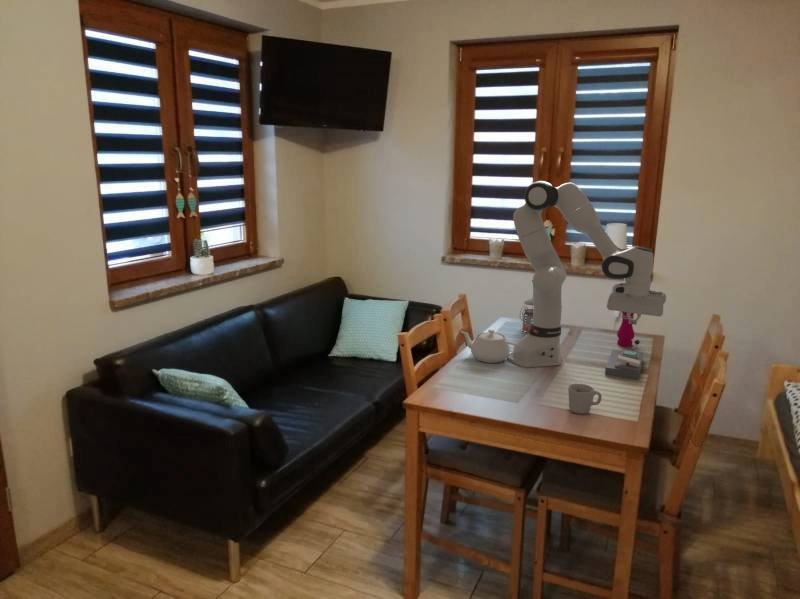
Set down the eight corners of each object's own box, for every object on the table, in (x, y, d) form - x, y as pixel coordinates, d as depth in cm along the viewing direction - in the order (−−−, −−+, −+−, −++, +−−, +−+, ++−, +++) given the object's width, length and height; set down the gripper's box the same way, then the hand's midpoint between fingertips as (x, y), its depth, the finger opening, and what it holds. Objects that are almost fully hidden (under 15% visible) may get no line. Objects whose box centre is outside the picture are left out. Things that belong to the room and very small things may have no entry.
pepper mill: (612, 343, 266) (616, 299, 261) (624, 341, 268) (629, 298, 264) (624, 347, 259) (629, 303, 254) (637, 345, 262) (641, 301, 257)
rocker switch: (638, 368, 223) (639, 364, 222) (616, 362, 226) (617, 358, 225) (639, 364, 227) (640, 360, 226) (617, 358, 230) (618, 354, 229)
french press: (545, 331, 281) (549, 280, 275) (527, 335, 275) (530, 282, 270) (531, 326, 289) (534, 276, 283) (513, 329, 284) (516, 278, 278)
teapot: (523, 359, 244) (525, 330, 241) (510, 369, 230) (512, 339, 228) (467, 348, 256) (468, 321, 253) (452, 358, 243) (453, 329, 240)
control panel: (638, 380, 222) (640, 364, 220) (604, 374, 227) (606, 359, 225) (642, 360, 243) (644, 346, 242) (611, 356, 248) (613, 342, 246)
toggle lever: (633, 354, 239) (640, 341, 237) (628, 352, 240) (635, 339, 238) (633, 353, 241) (640, 340, 239) (629, 350, 241) (635, 338, 239)
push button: (635, 362, 231) (635, 355, 230) (622, 360, 232) (623, 353, 232) (635, 359, 234) (636, 351, 234) (624, 357, 236) (624, 350, 236)
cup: (595, 406, 198) (597, 383, 196) (604, 416, 191) (606, 392, 189) (563, 406, 198) (565, 383, 196) (570, 416, 190) (573, 392, 188)
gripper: (667, 290, 225) (662, 325, 229) (610, 284, 233) (606, 318, 237) (666, 294, 220) (661, 330, 223) (608, 287, 228) (604, 322, 231)
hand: (632, 323), depth 230 cm, fingers closed
